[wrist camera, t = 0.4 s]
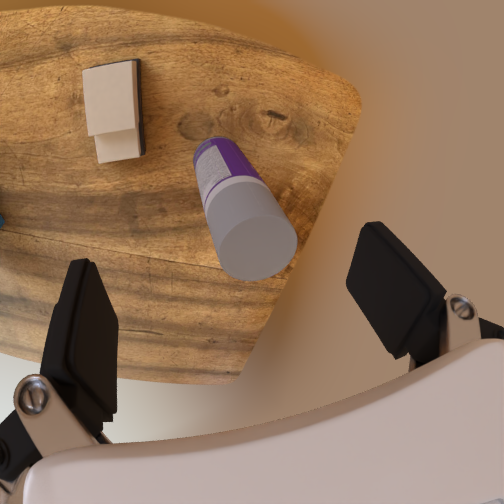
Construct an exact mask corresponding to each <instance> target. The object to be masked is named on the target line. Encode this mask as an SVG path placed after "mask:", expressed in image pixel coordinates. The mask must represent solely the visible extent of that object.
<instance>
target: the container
mask: <svg viewBox="0 0 504 504" xmlns="http://www.w3.org/2000/svg"><path fill="white" fill-rule="evenodd" d="M193 163H194V169H195V173H196V177H197V182H198V186H199V191H200V195H201V199H202V204H203V208H204V212H205V216H206V219H207V223H208V226H209V229H210V233H211V236H212V239H213V243H214V246H215V249H216V253H217V256H218V259H219V262H220V265H221V267H222V268H223V270H224V271H225V272H226V273H227V274H228V275H230V276H232V277H233V278H236V279H239V280H243V281H258V280H262V279H266V278H268V277H271V276H273V275H275V274H276V273H278V272H280V271H281V270H282V269H283V268H284V267H286V266H287V264H288V263H289V262H290V261H291V259H292V258H293V256H294V254H295V251H296V248H297V235H296V232H295V230H294V228H293V226H292V224H291V223H290V221H289V220H288V218H287V217H286V215H285V213H284V212H283V210H282V209H281V207H280V205H279V204H278V202H277V201H276V199H275V198H274V196H273V194H272V193H271V191H270V190H269V188H268V187H267V185H266V184H265V182H264V181H263V180H262V178H261V177H260V176H259V174H258V173H257V172H256V170H255V169H254V167H253V166H252V165H251V163H250V162H249V161H248V159H247V158H246V157H245V155H244V154H243V153H242V151H241V150H240V149H239V147H238V146H237V145H236V144H235V143H234V142H233V141H232V140H230V139H228V138H225V137H211V138H209V139H206V140H205V141H203V142H202V143H201V144H200V145H199V146H198V147H197V149H196V151H195V153H194V157H193Z"/></svg>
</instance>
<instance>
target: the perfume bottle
mask: <svg viewBox="0 0 504 504" xmlns="http://www.w3.org/2000/svg"><path fill="white" fill-rule="evenodd" d="M4 223H5V221H4V219H3V218H2V216H1V214H0V228H1V227H2V225H3V224H4Z"/></svg>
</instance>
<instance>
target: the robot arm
mask: <svg viewBox="0 0 504 504" xmlns="http://www.w3.org/2000/svg"><path fill="white" fill-rule="evenodd" d="M346 286H347V289H348V291H349V292H350V294H351V295H352V296H353V298H354V299H355V301H356V303H357V304H358V305H359V307H360V309H361V310H362V312H363V313H364V315H365V316H366V318H367V320H368V321H369V322H370V324H371V326H372V327H373V329H374V330H375V332H376V334H377V335H378V337H379V338H380V340H381V342H382V343H383V345H384V346H385V348H386V350H387V351H388V352H389V353H391V354H392V355H393V356H394V358H395V360H396V359H399V358H401V357H403V356H405V355H406V354H407V353H408V352H409V354H410V364H409V372H408V373H406V374H404V375H402V376H400V377H398V378H396V379H393V380H391V381H389V382H386V383H384V384H382V385H380V386H377V387H375V388H372V389H370V390H367V391H365V392H362V393H360V394H357V395H354V396H352V397H349V398H346V399H344V400H341V401H338V402H335V403H332V404H329V405H326V406H323V407H320V408H317V409H314V410H311V411H308V412H304V413H301V414H297V415H294V416H290V417H287V418H283V419H279V420H276V421H271V422H267V423H264V424H259V425H254V426H250V427H245V428H241V429H236V430H230V431H225V432H219V433H213V434H207V435H200V436H193V437H185V438H177V439H168V440H160V441H159V440H158V441H148V442H131V443H116V444H113V443H112V442H111V441H110V440H109V439H108V438H107V437H106V436H105V434H104V433H103V432H102V430H103V422H113V414H115V413H116V412H117V347H118V328H119V325H118V319H117V316H116V314H115V311H114V309H113V307H112V305H111V302H110V300H109V297H108V295H107V293H106V290H105V288H104V285H103V283H102V280H101V277H100V275H99V272H98V269H97V267H96V264H95V263H94V262H90V260H89V259H88V258H85V259H78V260H72V261H71V263H70V265H69V268H68V271H67V275H66V278H65V281H64V284H63V287H62V291H61V294H60V298H59V301H58V303H57V304H56V305H55V307H54V310H53V313H52V317H51V321H50V325H49V329H48V333H47V338H46V342H45V347H44V352H43V357H42V362H41V368H40V374H32V375H28V376H26V377H25V378H23V379H22V380H21V381H20V382H19V383H18V385H17V387H16V389H15V392H14V397H13V398H14V406H15V410H14V411H13V412H12V413H11V414H10V415H9V416H8V417H7V418H6V419H5V420H4V421H3V422H2V423H1V424H0V504H504V328H503V327H502V326H499V325H497V324H494V323H491V322H489V321H487V320H484V319H482V318H479V317H478V313H477V310H476V308H475V306H474V304H473V303H472V302H471V301H470V300H469V299H468V298H466V297H465V296H462V295H460V294H451V295H450V296H448V298H447V299H446V300H445V299H444V298H443V297H444V296H445V294H446V292H447V291H446V290H445V288H444V287H443V286H442V285H441V284H440V283H439V281H438V280H437V279H436V278H435V277H434V276H433V275H432V274H431V272H429V270H428V269H427V268H426V267H425V266H424V265H423V264H422V263H421V262H420V261H419V259H418V258H417V257H416V256H415V255H414V254H413V253H412V252H411V251H410V250H409V249H408V248H407V247H406V246H405V245H404V244H403V243H402V242H401V241H400V240H399V239H398V238H397V237H396V236H395V235H394V234H393V233H392V232H391V231H390V230H389V229H388V228H387V227H386V226H385V225H384V224H383V223H382V222H380V221H377V222H367V223H366V224H365V225H364V227H362V229H361V231H360V234H359V238H358V242H357V245H356V249H355V252H354V256H353V259H352V262H351V266H350V269H349V272H348V276H347V279H346Z"/></svg>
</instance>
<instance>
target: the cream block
mask: <svg viewBox="0 0 504 504" xmlns="http://www.w3.org/2000/svg"><path fill="white" fill-rule="evenodd" d="M82 72H83V89H84V101H85V111H86V120H87V128H88V135H89V136H94V137H95V144H96V151H97V157H98V163H99V164H100V163H106V162H112V161H118V160H124V159H131V158H138V157H140V156H142V155H145V151H146V150H145V139H144V128H143V114H142V97H141V71H140V59H132V60H126V61H120V62H114V63H109V64H104V65H99V66H95V67H90V68H89V69H86V70H83V71H82Z"/></svg>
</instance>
